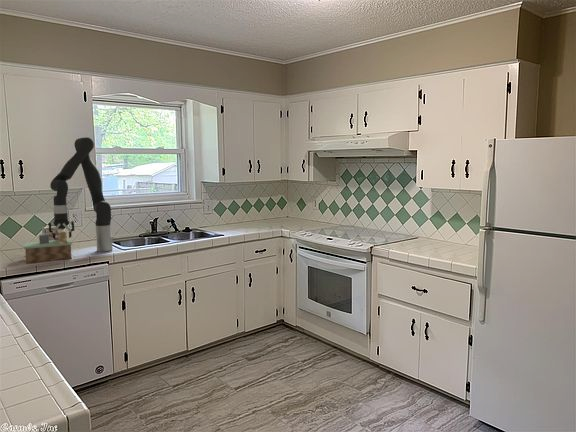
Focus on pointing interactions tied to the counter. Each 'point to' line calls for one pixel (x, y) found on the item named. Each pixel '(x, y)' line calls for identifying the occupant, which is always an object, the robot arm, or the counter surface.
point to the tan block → (62, 236)
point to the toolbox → (48, 254)
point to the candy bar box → (46, 231)
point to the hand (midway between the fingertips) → (62, 238)
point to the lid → (45, 242)
